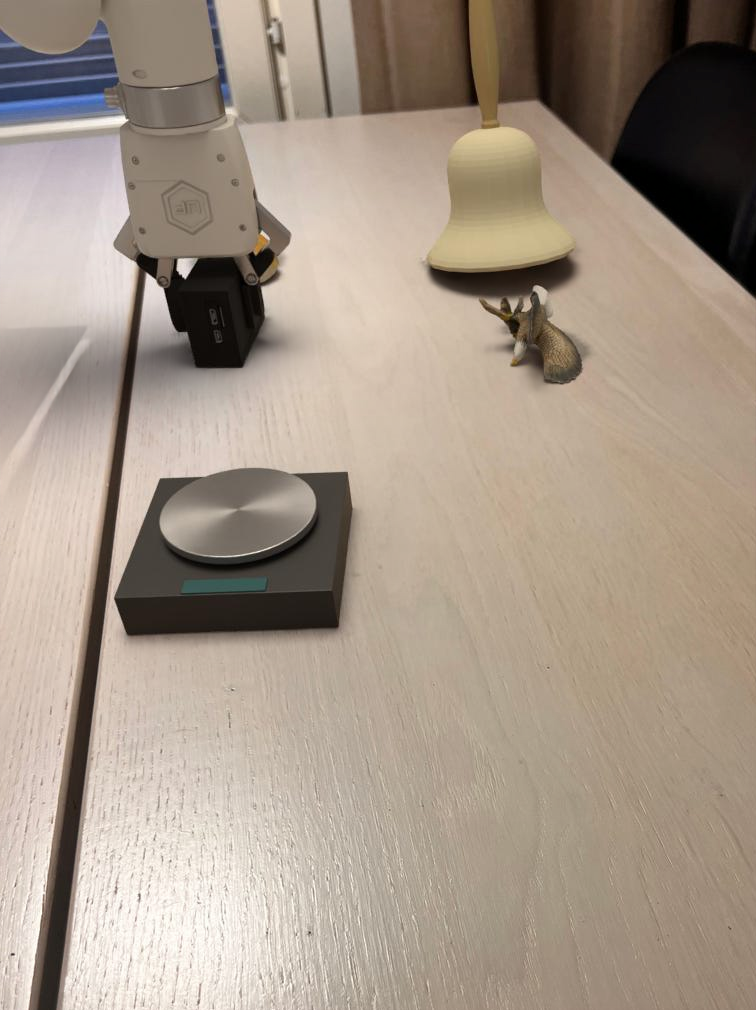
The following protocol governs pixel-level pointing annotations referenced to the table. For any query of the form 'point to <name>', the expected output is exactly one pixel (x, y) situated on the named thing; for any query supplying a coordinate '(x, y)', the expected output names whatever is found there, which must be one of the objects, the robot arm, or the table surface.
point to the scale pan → (238, 515)
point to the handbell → (495, 181)
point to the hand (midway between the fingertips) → (219, 322)
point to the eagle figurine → (539, 335)
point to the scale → (239, 575)
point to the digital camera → (212, 313)
